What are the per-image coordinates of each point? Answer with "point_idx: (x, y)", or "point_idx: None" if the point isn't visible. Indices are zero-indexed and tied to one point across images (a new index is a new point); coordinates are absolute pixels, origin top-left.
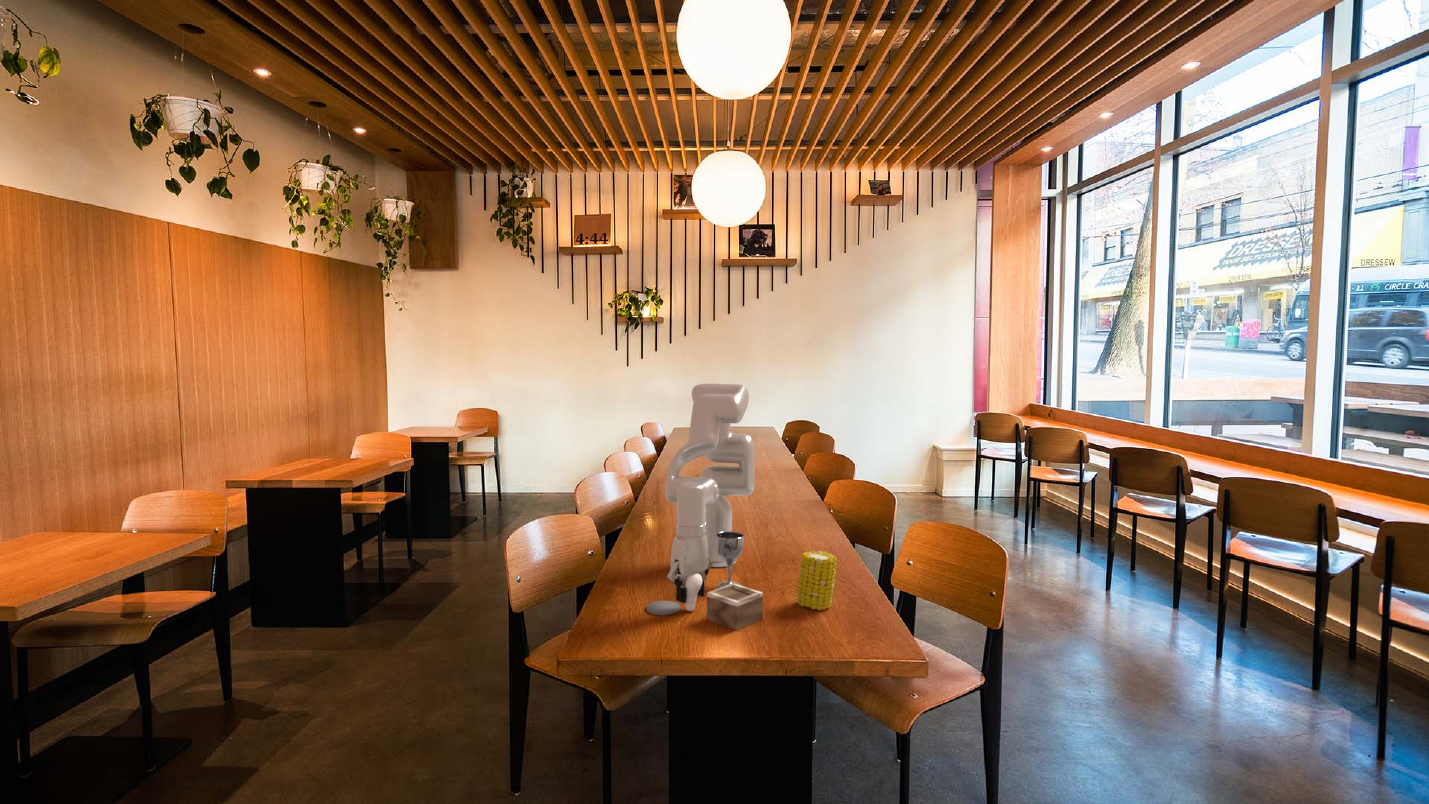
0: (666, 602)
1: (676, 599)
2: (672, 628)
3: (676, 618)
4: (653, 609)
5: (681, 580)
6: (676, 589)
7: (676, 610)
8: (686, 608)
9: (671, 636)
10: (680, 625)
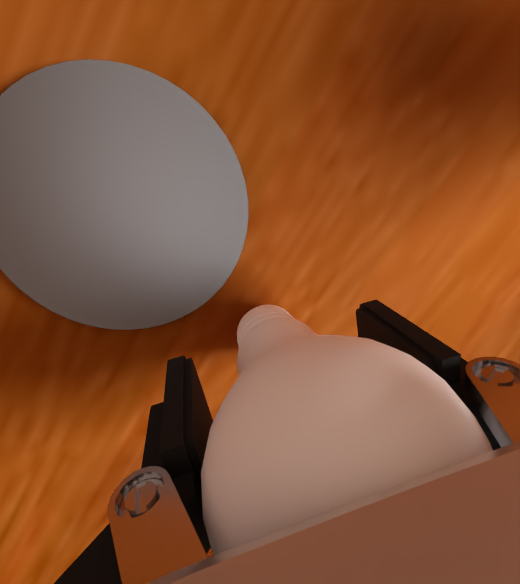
0: (183, 142)
1: (169, 360)
2: (57, 479)
3: (137, 379)
4: (22, 220)
5: (210, 544)
6: (142, 461)
7: (177, 315)
8: (237, 339)
9: (14, 549)
10: (115, 461)
